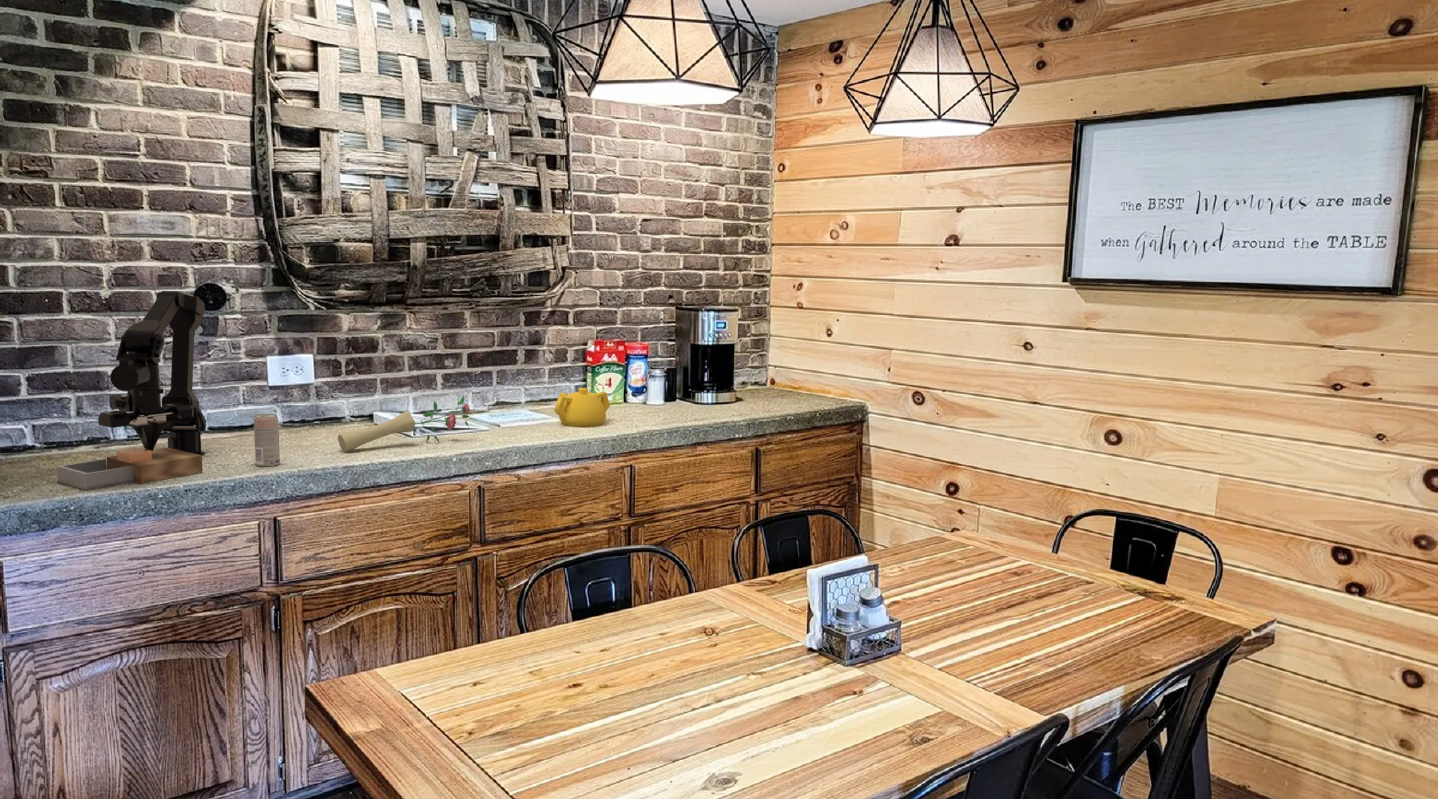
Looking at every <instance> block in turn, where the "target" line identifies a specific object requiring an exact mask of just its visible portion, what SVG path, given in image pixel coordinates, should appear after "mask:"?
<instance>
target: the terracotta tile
mask: <svg viewBox="0 0 1438 799" xmlns="http://www.w3.org/2000/svg"><path fill="white" fill-rule="evenodd" d="M116 456H117V460H120V461H124V462H128V463H132V462H138V461H144V460H150V459H152V451H151V450H147V449H145V448H144V447H136V448H128V449H121V450H117V451H116Z"/></svg>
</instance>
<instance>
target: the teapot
mask: <svg viewBox="0 0 1438 799" xmlns="http://www.w3.org/2000/svg"><path fill="white" fill-rule="evenodd" d="M588 390H589V389H588V388H586V387H580V388H578V391H576V392H575V391H574V392H570V393H569V394H568V393H567V392H561V393H560V394H559V396H558V397H557V400H556V405H555V407H554V413H555V414H556V415H558V418H559V420H560V422H561V423H562V424H563V425H564V426H569V427H575V428H576V427H577V428H589V427H598V426H599V427H600V426H601V425H602V424H603V423H604V422H605V421H606V420H607V414H606V413H607V412H606V411H607V410H608V409H609V408H610V407H611V405H610V401H609V397H608V395H607V394H608V393H607V392H606V391H600V392H597V393H595V392H588Z"/></svg>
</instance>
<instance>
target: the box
mask: <svg viewBox="0 0 1438 799" xmlns="http://www.w3.org/2000/svg"><path fill="white" fill-rule="evenodd" d="M56 477H57V482H58V483H60V484H64V485H67V486H71V487H74V488H78V489H82V490H85V491H91V490H96V489H101V488H106V487H112V486H118V485H123V484H127V483H135V482H134V467H133V466H127V467H121V468H115V469H109V470H107V459H106V458H100V459H93V460H87V461H81V462H75V463H70V464H69V463H68V464H61V465H57V466H56Z"/></svg>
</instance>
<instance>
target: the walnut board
mask: <svg viewBox="0 0 1438 799" xmlns="http://www.w3.org/2000/svg"><path fill="white" fill-rule="evenodd" d="M202 455H203V454H202ZM202 455H198V454H193V453H189V452H185V451H180V450H176V449H172V448H168V446H166V447H160V448H154V449H153V452H152V459H150V460H144V461H138V462H132V463H128V462H124V461H120V460H117V455H111V456H105V457H106V458H105V459H106V466H107V470H109V469H115V468H121V467H127V466H133V467H134V482H133V483H138V484H146V483H153V482H159V481H164V480H168V479H174V478H180V477H185V476H191V475H195V474H200V473H203V472H204V471H203V469H204V468H203V456H202Z"/></svg>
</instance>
